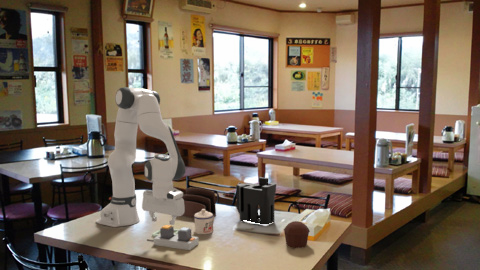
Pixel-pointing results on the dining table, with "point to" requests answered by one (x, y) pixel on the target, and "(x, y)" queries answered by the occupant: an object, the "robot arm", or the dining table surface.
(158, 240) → the power strip
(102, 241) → the dining table surface
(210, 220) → the teacup with lid
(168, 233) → the plug
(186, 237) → the dark grey block
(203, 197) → the letter holder
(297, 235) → the muffin
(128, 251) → the dining table surface
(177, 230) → the tray
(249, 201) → the black machined bracket
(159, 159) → the robot arm
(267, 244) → the dining table surface
